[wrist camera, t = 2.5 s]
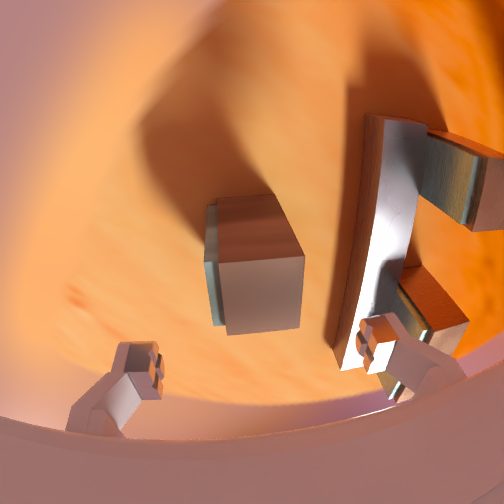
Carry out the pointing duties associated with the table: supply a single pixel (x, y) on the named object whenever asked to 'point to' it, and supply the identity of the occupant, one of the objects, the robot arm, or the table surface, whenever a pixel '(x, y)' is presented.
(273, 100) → the table surface
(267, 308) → the brown-topped upright block
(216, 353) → the table surface
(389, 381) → the grey block holder
